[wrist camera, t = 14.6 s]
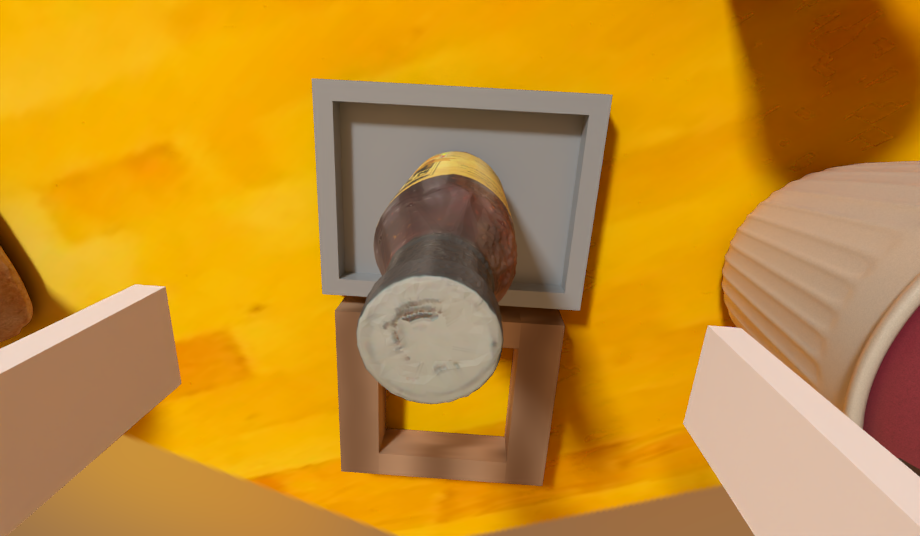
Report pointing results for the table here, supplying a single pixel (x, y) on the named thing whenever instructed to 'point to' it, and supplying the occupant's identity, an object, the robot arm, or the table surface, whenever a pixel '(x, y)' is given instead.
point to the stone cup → (12, 300)
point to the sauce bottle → (439, 282)
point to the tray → (478, 133)
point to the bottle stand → (454, 453)
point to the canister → (840, 291)
